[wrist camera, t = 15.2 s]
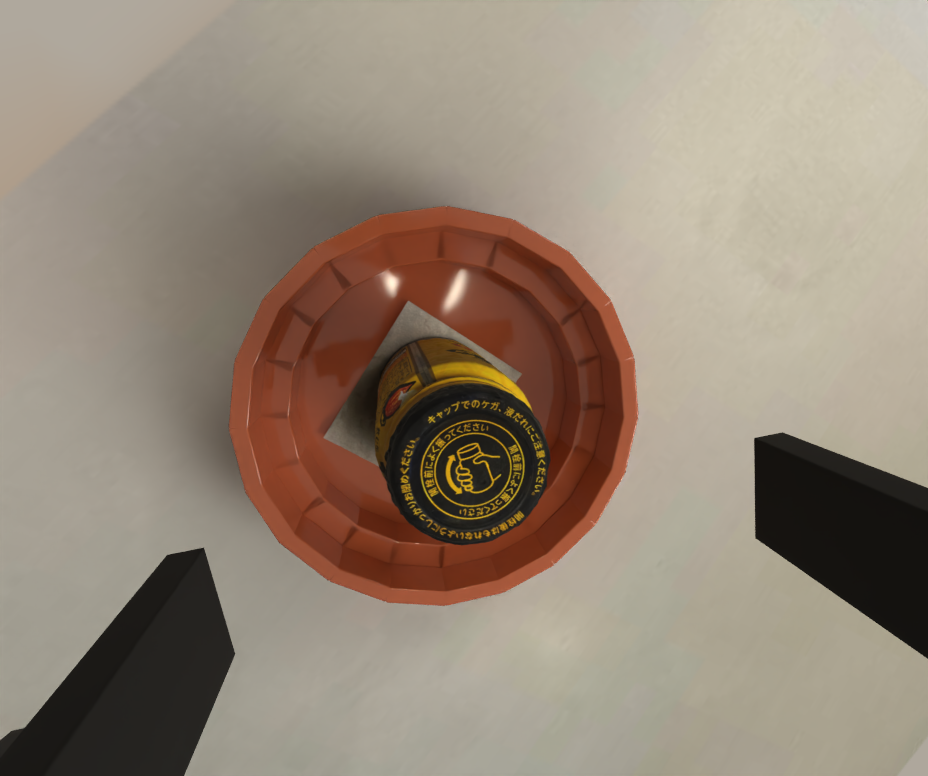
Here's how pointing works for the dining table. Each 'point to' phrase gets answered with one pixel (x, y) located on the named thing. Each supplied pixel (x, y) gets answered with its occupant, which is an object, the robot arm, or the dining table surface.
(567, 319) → the bowl
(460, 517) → the condiment
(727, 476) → the dining table surface
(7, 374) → the dining table surface
